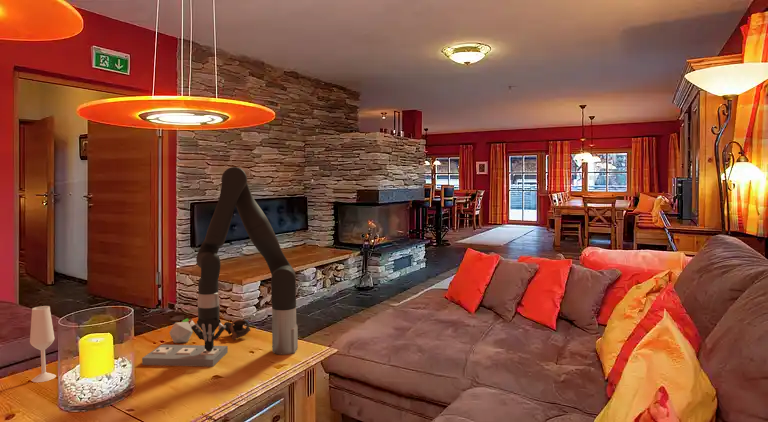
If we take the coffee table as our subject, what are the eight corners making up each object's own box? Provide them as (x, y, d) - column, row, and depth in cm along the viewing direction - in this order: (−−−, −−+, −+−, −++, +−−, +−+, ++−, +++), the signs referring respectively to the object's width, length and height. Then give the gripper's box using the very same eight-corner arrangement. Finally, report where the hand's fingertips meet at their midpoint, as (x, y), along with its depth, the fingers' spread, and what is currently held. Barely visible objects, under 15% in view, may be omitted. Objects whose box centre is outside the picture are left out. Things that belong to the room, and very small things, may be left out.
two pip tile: (172, 355, 181) (172, 346, 181) (166, 360, 176) (165, 351, 176) (159, 355, 181) (159, 346, 181) (152, 360, 176) (152, 351, 176)
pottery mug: (253, 333, 209) (254, 320, 204) (244, 349, 201) (244, 336, 196) (227, 326, 209) (227, 312, 205) (216, 341, 201) (217, 328, 197)
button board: (227, 352, 185) (227, 345, 185) (213, 366, 171) (213, 359, 171) (162, 350, 186) (161, 344, 186) (142, 364, 172) (142, 358, 172)
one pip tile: (195, 355, 181) (195, 347, 180) (190, 360, 176) (189, 352, 175) (183, 355, 181) (182, 347, 181) (176, 360, 176) (176, 351, 176)
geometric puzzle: (172, 330, 204) (181, 316, 203) (182, 325, 211) (191, 312, 210) (183, 341, 204) (193, 327, 202) (193, 335, 210) (202, 322, 209)
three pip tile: (219, 356, 180) (219, 348, 180) (214, 361, 175) (213, 352, 175) (206, 356, 181) (206, 347, 180) (200, 361, 176) (200, 352, 175)
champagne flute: (61, 374, 163) (58, 305, 161) (43, 383, 156) (40, 311, 155) (44, 373, 164) (41, 304, 162) (26, 381, 157) (23, 310, 156)
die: (181, 348, 191) (195, 326, 194) (162, 337, 191) (177, 315, 194) (185, 348, 199) (199, 327, 202) (167, 338, 199) (181, 317, 202)
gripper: (229, 302, 180) (230, 347, 181) (195, 301, 181) (196, 346, 182) (222, 307, 173) (222, 354, 174) (186, 306, 173) (187, 353, 175)
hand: (209, 350), depth 178 cm, fingers closed
